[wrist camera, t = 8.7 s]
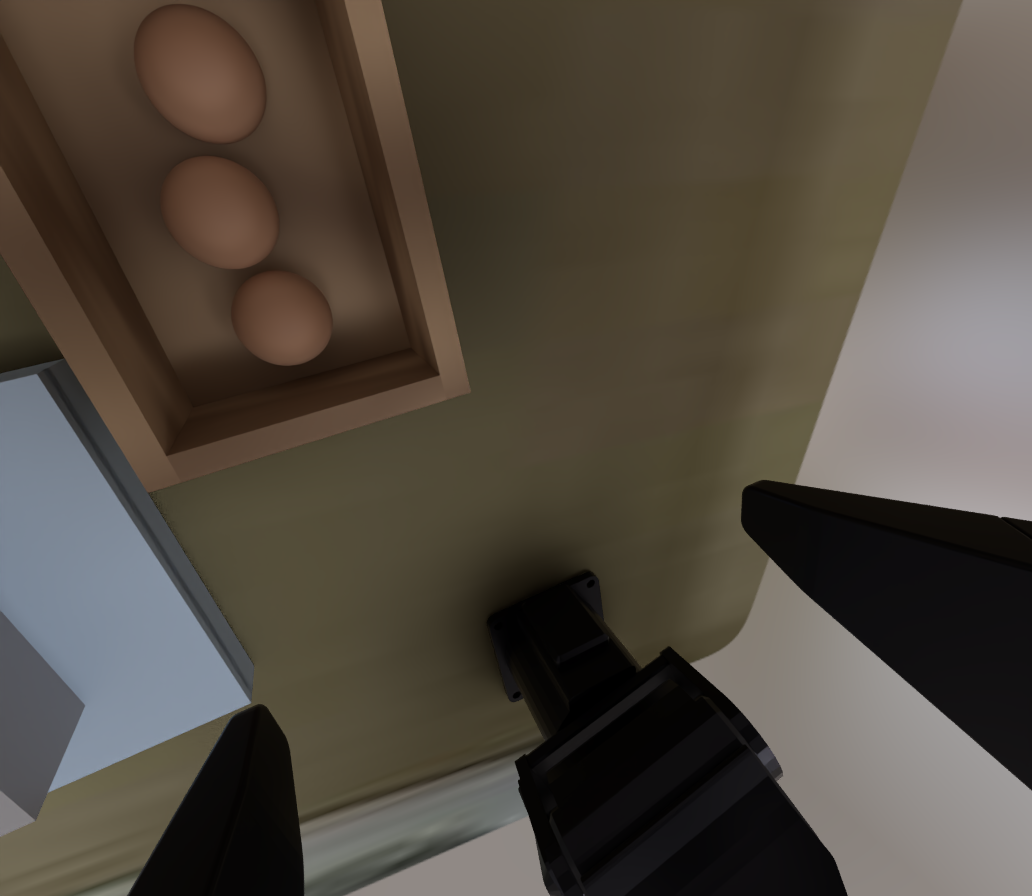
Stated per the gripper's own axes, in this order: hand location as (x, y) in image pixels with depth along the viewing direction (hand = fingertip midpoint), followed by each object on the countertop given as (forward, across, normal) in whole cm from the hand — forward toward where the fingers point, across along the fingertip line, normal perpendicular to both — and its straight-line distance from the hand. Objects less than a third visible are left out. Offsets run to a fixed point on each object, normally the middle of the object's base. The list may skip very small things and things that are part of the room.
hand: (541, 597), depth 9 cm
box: (+13, +3, -7) cm, 15 cm away
